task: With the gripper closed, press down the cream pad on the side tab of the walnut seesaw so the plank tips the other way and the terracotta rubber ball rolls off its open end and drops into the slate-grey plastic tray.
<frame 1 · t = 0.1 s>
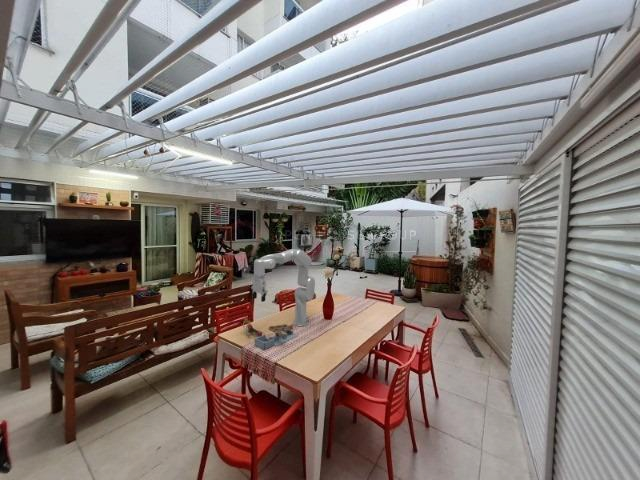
hand: (258, 299, 181), 31 cm above the table, fingers open, 9 cm apart
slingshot: (250, 335, 194), on the table
seesaw: (285, 329, 187), point 8 cm above the table, hinge at -12.0°, touching ball
fulcrum: (281, 338, 189), on the table
tray: (264, 345, 178), on the table
ball: (288, 325, 195), point 8 cm above the table, tilted 14°, touching seesaw
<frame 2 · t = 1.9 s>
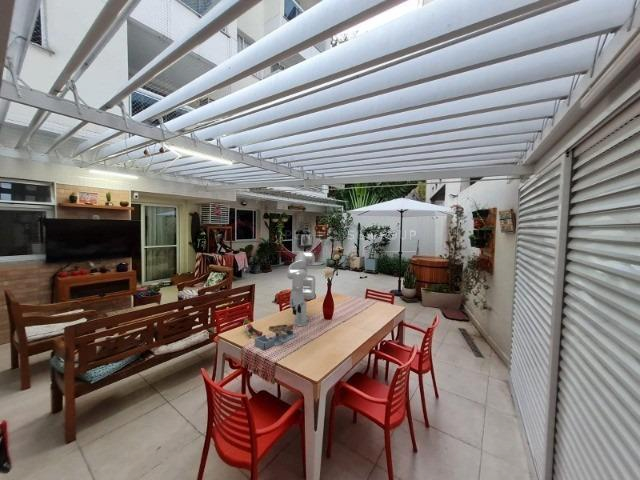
hand: (296, 313, 181), 22 cm above the table, fingers open, 4 cm apart
nothing on the table moved.
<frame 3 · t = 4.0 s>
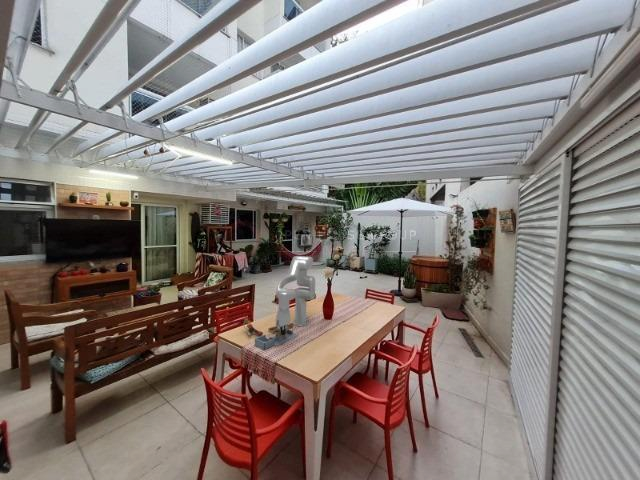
hand: (283, 334, 177), 8 cm above the table, fingers closed
seesaw: (285, 329, 187), point 8 cm above the table, hinge at -4.4°, touching ball, gripper
ball: (288, 323, 195), point 9 cm above the table, tilted 6°, touching seesaw
everything else where it was.
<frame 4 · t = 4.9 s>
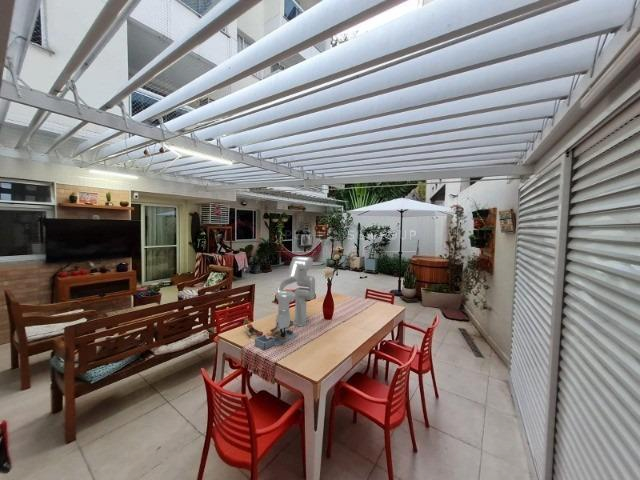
hand: (282, 336, 177), 7 cm above the table, fingers closed
seesaw: (285, 329, 187), point 8 cm above the table, hinge at 7.9°, touching gripper
ball: (269, 333, 181), point 8 cm above the table, tilted 122°
everything else where it was.
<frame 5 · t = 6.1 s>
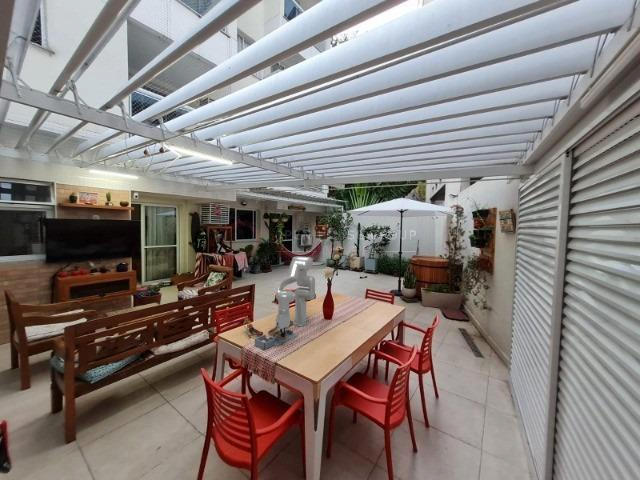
hand: (282, 336, 177), 7 cm above the table, fingers closed
ball: (263, 342, 177), point 2 cm above the table, tilted 72°, touching tray
everything else where it was.
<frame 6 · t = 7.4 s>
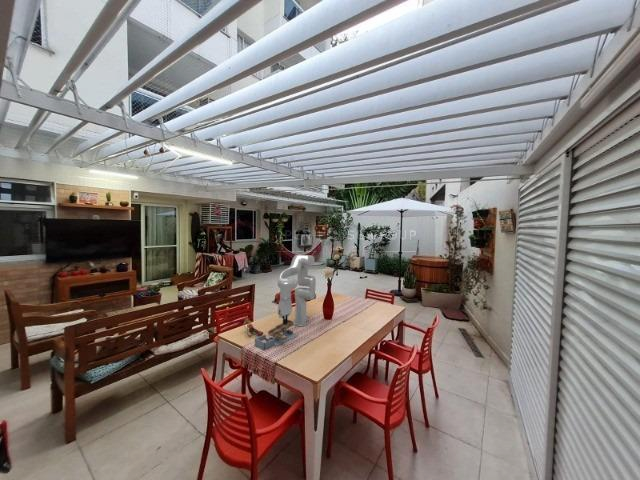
hand: (285, 323, 178), 16 cm above the table, fingers closed
seesaw: (285, 329, 187), point 8 cm above the table, hinge at 7.9°
ball: (263, 342, 177), point 2 cm above the table, tilted 51°, touching tray
everything else where it was.
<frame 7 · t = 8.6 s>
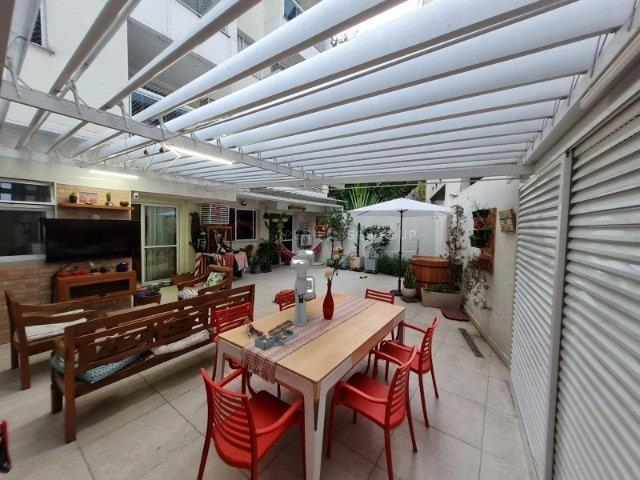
hand: (300, 302, 184), 29 cm above the table, fingers closed
ball: (264, 342, 178), point 2 cm above the table, tilted 32°, touching tray
everything else where it was.
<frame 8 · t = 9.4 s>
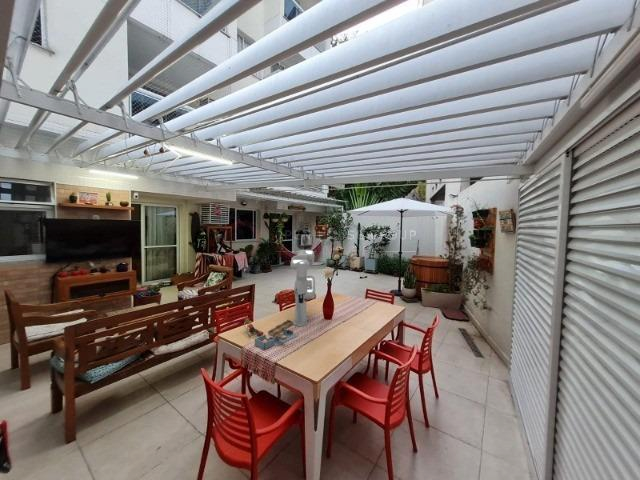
hand: (300, 302, 184), 29 cm above the table, fingers closed
ball: (265, 342, 178), point 2 cm above the table, tilted 19°, touching tray
everything else where it was.
at the end: ball inside the target area on the tray (0.3 cm from its centre), point 2.4 cm above the tray's base; seesaw at +8° (first picture: -12°); ball touching tray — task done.
